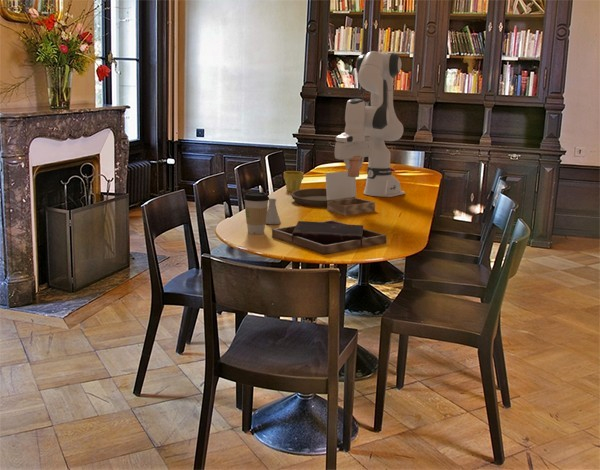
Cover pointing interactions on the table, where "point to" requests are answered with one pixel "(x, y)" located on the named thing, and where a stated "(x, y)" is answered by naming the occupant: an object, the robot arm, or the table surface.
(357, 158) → the pot
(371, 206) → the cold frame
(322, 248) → the desk tray
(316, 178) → the table surface
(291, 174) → the plant pot
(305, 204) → the plant saucer
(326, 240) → the diary
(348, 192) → the upright grey panel
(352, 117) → the robot arm
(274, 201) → the flask
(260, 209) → the coffee cup
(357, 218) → the table surface
